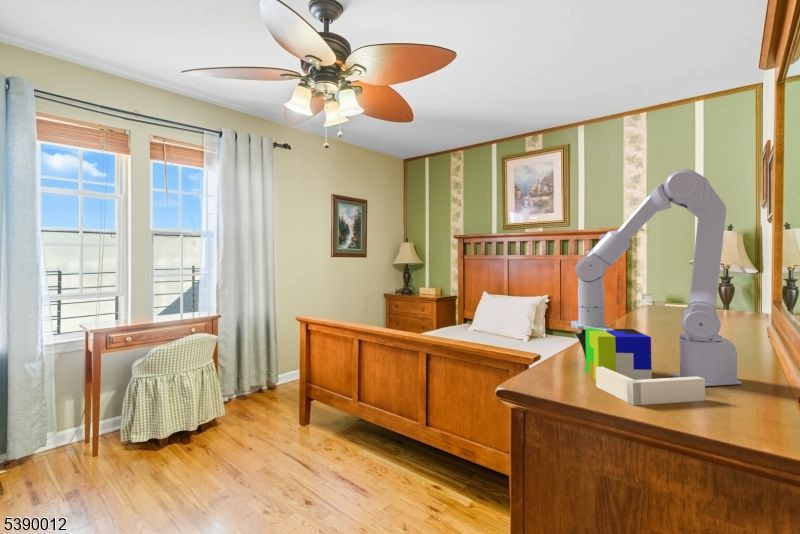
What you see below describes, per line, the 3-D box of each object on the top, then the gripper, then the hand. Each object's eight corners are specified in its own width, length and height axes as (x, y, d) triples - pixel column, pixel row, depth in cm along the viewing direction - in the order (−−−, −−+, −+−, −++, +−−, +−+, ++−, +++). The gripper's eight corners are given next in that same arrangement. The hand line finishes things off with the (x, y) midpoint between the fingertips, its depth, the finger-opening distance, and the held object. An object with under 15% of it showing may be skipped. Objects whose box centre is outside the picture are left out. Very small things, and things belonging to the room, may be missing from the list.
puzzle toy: (651, 386, 80) (651, 337, 80) (598, 384, 82) (597, 336, 82) (633, 372, 90) (632, 329, 90) (586, 371, 92) (585, 328, 92)
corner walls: (659, 382, 82) (659, 363, 82) (705, 400, 71) (704, 378, 71) (596, 386, 80) (595, 367, 80) (633, 405, 70) (632, 382, 70)
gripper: (559, 304, 102) (560, 356, 102) (593, 310, 87) (594, 371, 88) (585, 303, 103) (586, 355, 103) (623, 309, 88) (624, 370, 88)
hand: (592, 362), depth 95 cm, fingers closed
